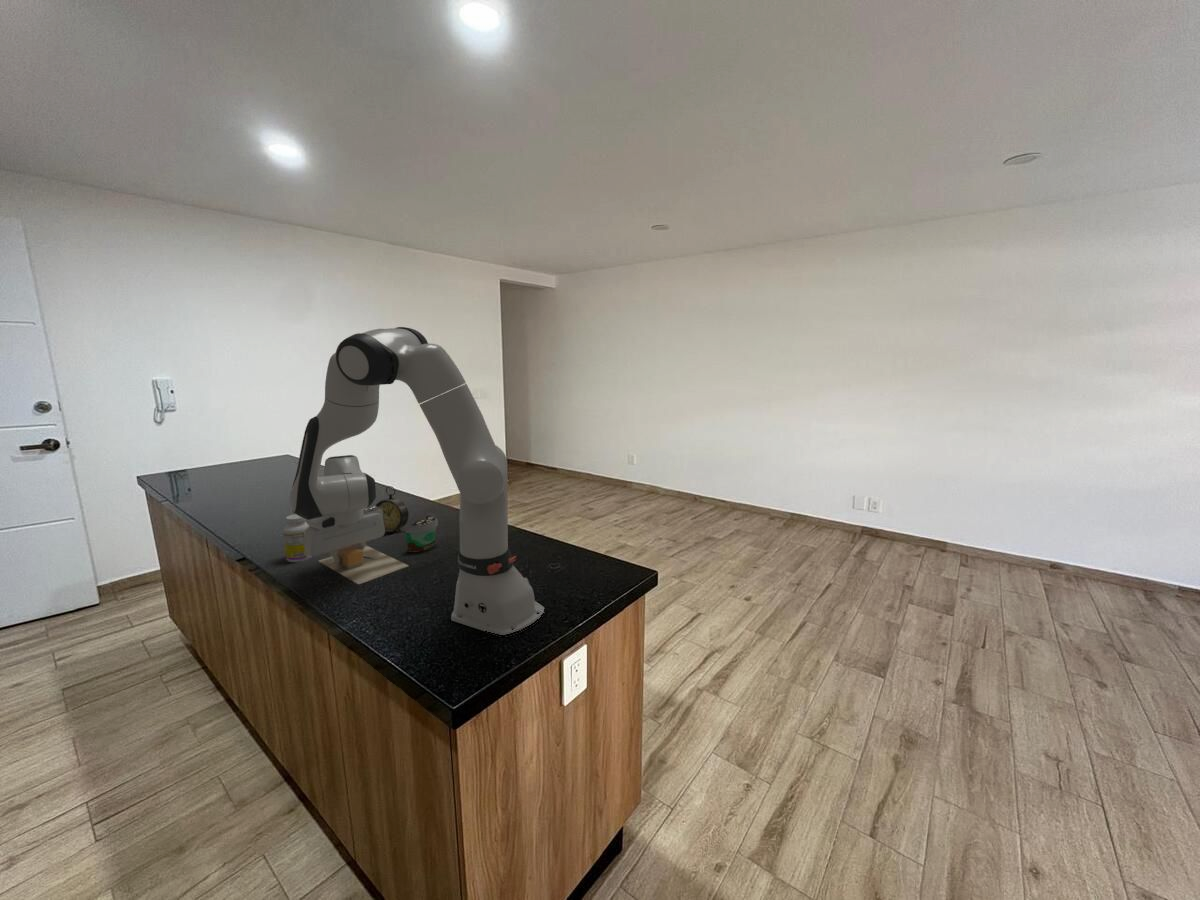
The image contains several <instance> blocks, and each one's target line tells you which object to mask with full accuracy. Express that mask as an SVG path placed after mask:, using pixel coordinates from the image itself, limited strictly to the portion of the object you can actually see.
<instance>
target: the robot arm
mask: <svg viewBox="0 0 1200 900" xmlns="http://www.w3.org/2000/svg"><path fill="white" fill-rule="evenodd" d="M325 374H326V376H325V382H324V383H325V384H324V401H323V404H322V407H321V409H320V411H319V412H318V413H317V414H316V415H315V416H314V417H311V418H310V419H309V420H308V423H307V424H306V427H305V430H304V433H303V438H302V442H301V447H300V454H299V458H298V462H297V468H296V473H295V477H294V479H293V483H292V487H291V489H290V490H291V491H290V492H289V493H290V494H289V504H290V509H291V510H292V513H293V514H296V515H298V516H300V517H302V518H305V519H306V520H305V522H307V524H308V525H309V527H308V528H307V529H306V531H305V539H304V546H305V552H306V553H307V554H309V555H310V556H312V557H311V558H315V557H318V556H319V557H320V556H323V555H325V554H329V555H330V557H333V558H334V563H335V564H336V565H339V564H342V563H343V558H342V557H340V556H337V555H336V554H337V553H338V550H339V549H342V548H346V547H349V546H355V545H358V547H357V548H358V549H360V550H362V551H363V550H364V548H365V546H367V542H369V541H372V540H375V539H379V538H382V537H384V535H385V533H386V531H385V527H384V522H383V518H382V517H383V510H382V509H381V508H380V507H377V506H376V505H374V506H371V505H372V504H374V501H375V500H376V498H377V494H376V493H377V491H376V489H377V488H376V481H375V480H376V479H375V478H373V476H372V475H369V474H368V473H366V472H363V471H362V470H361V466H360V462H359V459H358V456H356V455H354V454H353V455H352V454H349V455H347V454H346V455H339V456H338V455H336V456H330V457H327V458H326V459H325V460H324V469H323V476H319V475H320V469H321V465H322V460H323V457H324V454H325V452H326V451H327V450H328V449H329V448H331V447H332V446H334V445H336V444H338V443H341V442H342V441H345V440H348V439H350V438H352V437H356V436H358V435H361V434H362V433H364V432H366V431H367V430H368V429H369V428H371V427H372V426H373V425H374V423H376V421H377V419H378V418H377V417H378V414H379V406H380V386H382V385H392V384H393V383H395V381H400V382H403V383H404V384H406V385H407V386H408V387H409V389H410V390H411V391H412V394H413V396H414V397H415V400H416V401H417V404H419V407H420V409H421V410H422V413H423V415H424V417H425V419H426V420H427V422H428V424H429V425H430V427H431V430H432V431H433V433H434V435H435V437H436V439H437V442H438V445H439V446H440V449H441V451H442V455H443V457H444V459H445V462H446V464H447V467H448V469H449V471H450V473H451V476H452V477H453V480H454V482H455V485H456V487H457V490H458V491H459V493H460V494H459V495H460V497H459V498H460V499H459V501H460V502H459V517H458V520H459V550H458V552H457V553H458V554H457V567H458V569H459V573H458V577H457V581H456V585H455V592H454V593H455V595H454V603H453V610H452V613H451V615H450V619H451V621H452V622H456V623H458V624H462V625H465V626H468V627H470V628H474V629H477V630H480V631H483V632H485V631H487V632H486V633H488V632H491V633H495V634H499V635H506V634H510V633H513V632H516V631H519V630H521V629H523V628H525V627H527V626H529V625H531V624H532V623H534V622H535V621H536V620H537V619H539V618H540V617H541V615H542V614H543V613H544V614H545V612H544V609H545V606H543V605H541V604H540V603H538V602H537V601H536V600H535V593H534V589H533V586H531V584H530V581H529V579H528V578H527V577H523V575H522V574H521V572H520V571H519V570H518V569H517V568H516V566H514V562H515V561H517V559H515V558H517V555H514V556H512V553H511V550H510V547H509V546H508V545H509V542H508V539H509V535H508V533H509V532H508V531H509V529H508V528H509V525H508V523H509V520H508V518H509V514H508V513H509V511H508V509H509V508H508V499H509V498H508V492H509V491H508V488H509V487H508V475H509V474H508V473H509V472H508V471H509V469H508V468H509V467H508V459H507V456H506V454H505V452H504V451H503V450H502V449H501V448H500V447H499V446H497V445H496V444H495V441H494V439H493V436H492V435H491V432H490V430H489V428H488V425H487V423H486V421H485V418H484V416H483V414H482V412H481V409H480V407H479V406H478V404H477V401H476V400H475V398H474V396H473V393H472V392H471V389H470V388H469V386H468V384H467V383H466V380H465V378H464V376H463V375H462V372H461V371H460V369H459V368H458V366H457V365H456V363H455V361H454V360H453V359H452V358H451V356H450V355H449V354H448V352H447V351H446V349H444V348H443V347H442V346H441V345H439V344H436V343H429V342H428V340H427V339H426V337H425V336H424V335H423V334H422V333H421V332H419V331H418V330H416V329H414V328H412V327H405V326H398V327H393V328H391V327H390V328H389V327H388V328H376V329H372V330H368V331H365V332H362V333H359V332H358V333H355V334H352V335H349V336H348V337H346V338H345V339H343V340H342V341H340V342H339V344H338V345H337V348H336V351H335V352H334V353H333V354H332V355H331V356H330V358H329V361H328V365H327V369H326V373H325ZM370 506H371V507H370ZM378 508H379V509H378ZM537 613H539V614H537ZM512 629H513V630H512ZM491 633H490V634H491ZM495 634H494V635H495Z"/></svg>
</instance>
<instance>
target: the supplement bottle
mask: <svg viewBox="0 0 1200 900" xmlns="http://www.w3.org/2000/svg"><path fill="white" fill-rule="evenodd" d="M285 520H286V521H285V522H286V523H287V525H285V526H284V527H283V529H282V531H283V539H284V550H285V559H286V562H289V563H301V562H300V561H302V562H305V561H308V560H310V559H312V558H313V557H312V556H310V555H309V554H307V553H306V552H305V546H304V539H305V531H306V529H307V528H308V527H309V525H308V524H307V522H306V519H305V518H302V517H300V516H298V515H296V514H295V513H293V514H290V515H288V516H286V519H285Z"/></svg>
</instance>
